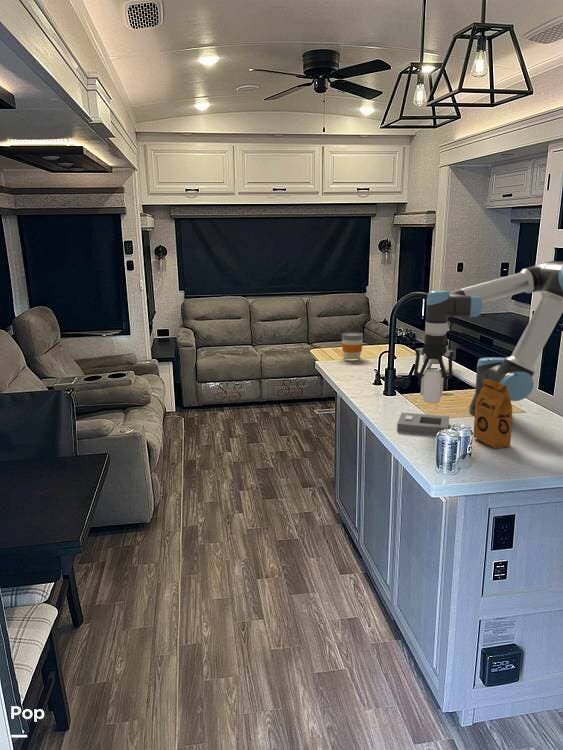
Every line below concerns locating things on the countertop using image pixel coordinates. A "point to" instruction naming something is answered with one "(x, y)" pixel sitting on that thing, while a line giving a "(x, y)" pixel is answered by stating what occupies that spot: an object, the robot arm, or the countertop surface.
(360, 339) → the reusable coffee cup
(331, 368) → the countertop surface
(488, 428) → the coffee package
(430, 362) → the phone holder
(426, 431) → the socket plate
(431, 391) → the can
